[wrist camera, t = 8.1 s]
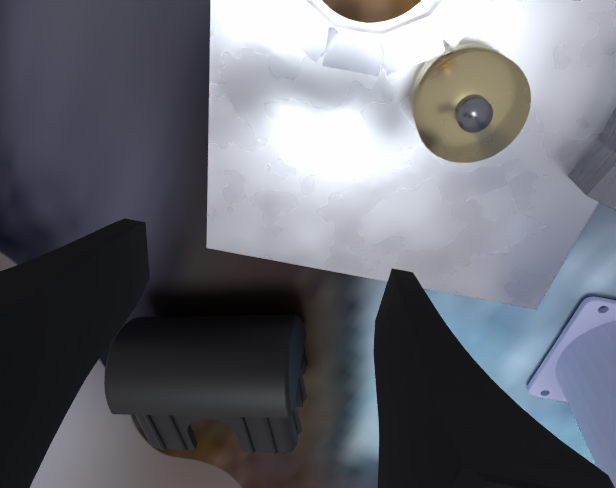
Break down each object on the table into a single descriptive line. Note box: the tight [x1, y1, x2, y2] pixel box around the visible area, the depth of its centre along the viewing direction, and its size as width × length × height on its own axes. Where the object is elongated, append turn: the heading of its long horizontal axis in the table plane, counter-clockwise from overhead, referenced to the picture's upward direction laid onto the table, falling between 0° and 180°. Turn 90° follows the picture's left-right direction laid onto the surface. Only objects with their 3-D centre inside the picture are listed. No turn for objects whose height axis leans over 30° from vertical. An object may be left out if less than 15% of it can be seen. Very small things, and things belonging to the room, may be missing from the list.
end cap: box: [104, 314, 307, 454], centre depth 25 cm, size 10×7×7 cm
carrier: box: [207, 0, 616, 309], centre depth 17 cm, size 18×20×4 cm
